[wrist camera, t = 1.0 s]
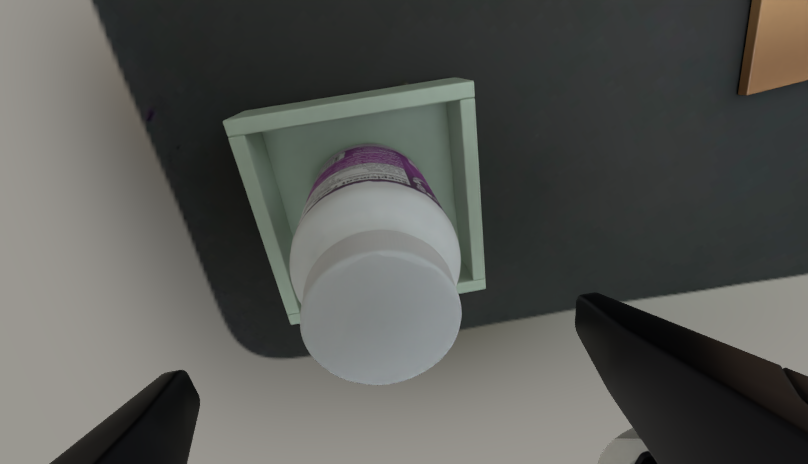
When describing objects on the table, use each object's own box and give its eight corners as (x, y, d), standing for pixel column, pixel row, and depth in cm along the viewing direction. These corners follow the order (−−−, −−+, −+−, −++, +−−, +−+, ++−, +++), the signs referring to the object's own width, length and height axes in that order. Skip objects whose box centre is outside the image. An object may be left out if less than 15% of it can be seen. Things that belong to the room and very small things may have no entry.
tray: (469, 259, 20) (486, 289, 18) (299, 290, 20) (290, 325, 17) (455, 76, 17) (474, 80, 14) (243, 111, 16) (221, 120, 14)
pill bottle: (433, 236, 19) (497, 384, 10) (328, 257, 19) (306, 426, 10) (416, 128, 17) (482, 203, 8) (297, 151, 17) (234, 253, 8)
